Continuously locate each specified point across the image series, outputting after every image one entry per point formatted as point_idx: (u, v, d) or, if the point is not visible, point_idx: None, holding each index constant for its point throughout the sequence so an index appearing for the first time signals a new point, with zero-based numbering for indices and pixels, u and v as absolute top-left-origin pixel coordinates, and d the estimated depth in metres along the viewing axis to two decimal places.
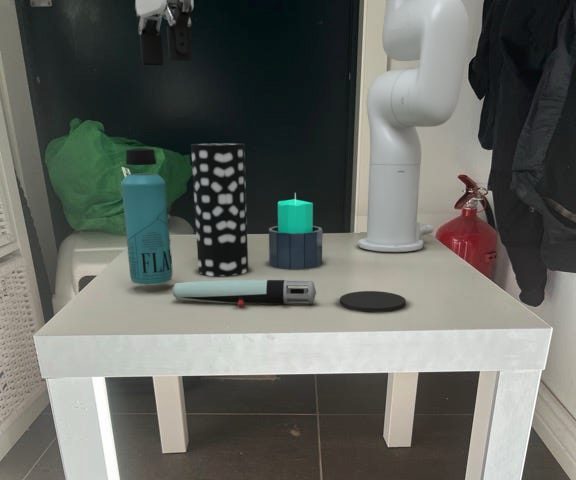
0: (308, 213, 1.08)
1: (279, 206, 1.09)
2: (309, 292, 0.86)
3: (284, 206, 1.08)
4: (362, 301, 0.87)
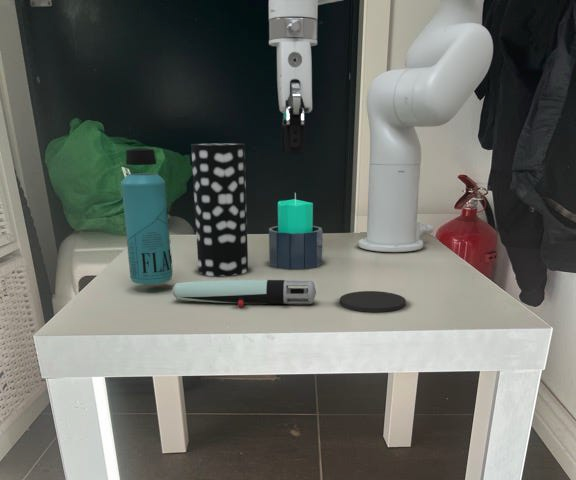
0: (308, 213, 1.08)
1: (279, 206, 1.09)
2: (309, 292, 0.87)
3: (284, 206, 1.08)
4: (362, 301, 0.87)
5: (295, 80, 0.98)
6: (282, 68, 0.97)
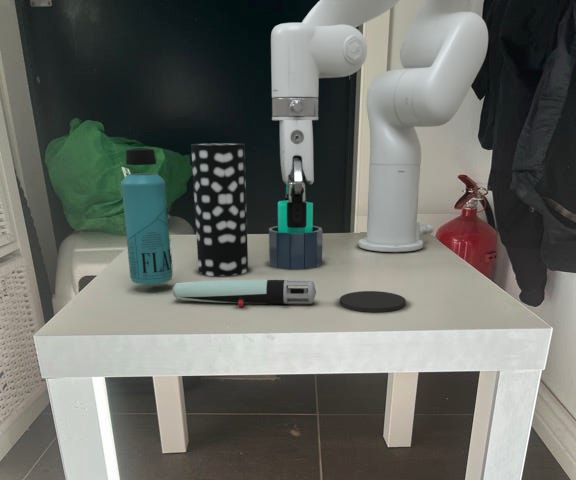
0: (308, 213, 1.08)
1: (279, 206, 1.09)
2: (309, 292, 0.87)
3: (284, 206, 1.08)
4: (362, 301, 0.87)
5: (297, 158, 1.02)
6: (285, 145, 1.02)
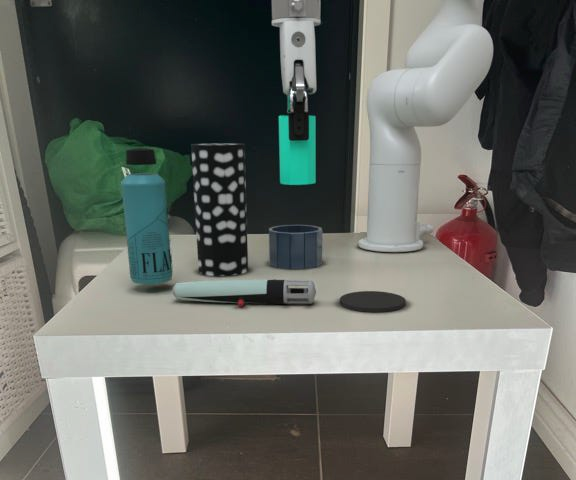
0: (311, 126, 1.03)
1: (280, 119, 1.03)
2: (309, 292, 0.87)
3: (285, 118, 1.02)
4: (362, 301, 0.87)
5: (299, 63, 0.97)
6: (285, 48, 0.96)
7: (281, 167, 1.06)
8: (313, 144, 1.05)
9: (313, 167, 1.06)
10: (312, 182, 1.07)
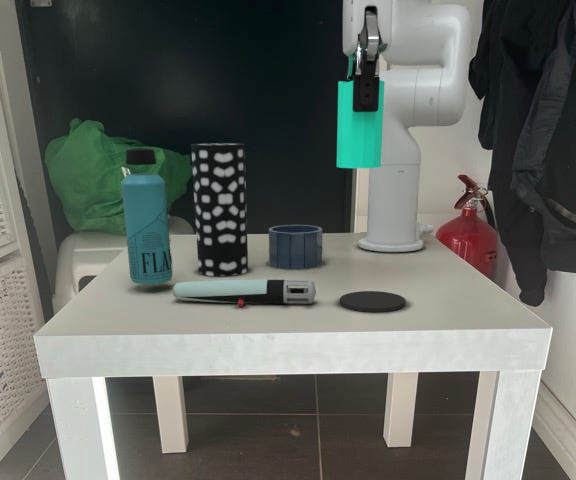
0: (379, 93, 0.82)
1: (341, 85, 0.82)
2: (309, 292, 0.87)
3: (348, 83, 0.81)
4: (362, 301, 0.87)
5: (371, 10, 0.76)
6: None
7: (339, 146, 0.85)
8: (381, 117, 0.83)
9: (380, 147, 0.84)
10: (378, 166, 0.85)
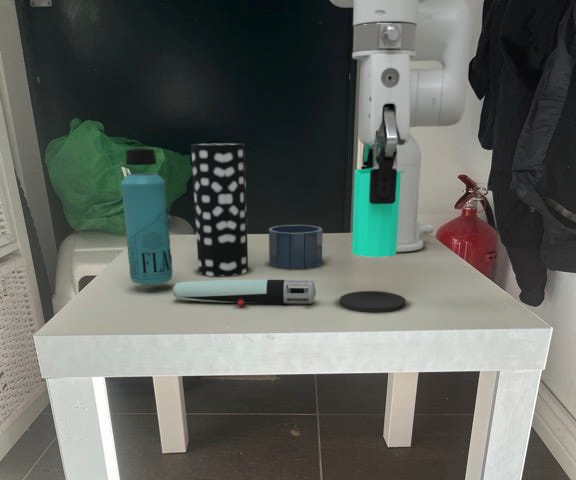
0: (396, 184, 0.81)
1: (357, 175, 0.81)
2: (309, 292, 0.87)
3: (365, 175, 0.80)
4: (362, 301, 0.87)
5: (389, 108, 0.75)
6: (373, 89, 0.74)
7: (355, 234, 0.84)
8: (397, 206, 0.83)
9: (396, 235, 0.84)
10: (394, 253, 0.84)
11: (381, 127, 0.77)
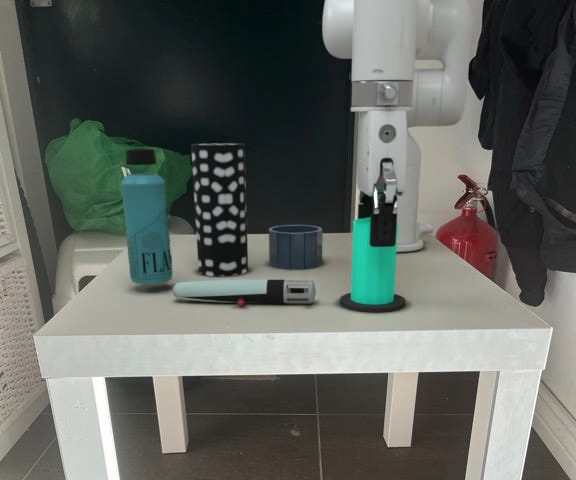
0: None
1: (355, 227, 0.84)
2: (309, 291, 0.87)
3: (363, 227, 0.83)
4: None
5: (386, 159, 0.77)
6: (371, 144, 0.77)
7: (354, 282, 0.87)
8: (395, 256, 0.85)
9: (393, 283, 0.86)
10: (391, 300, 0.87)
11: (379, 179, 0.79)
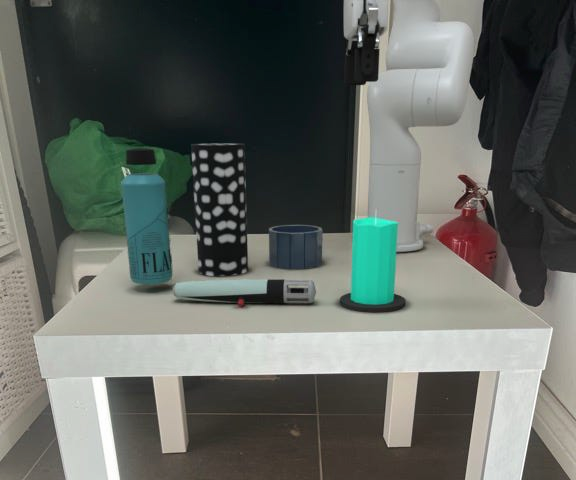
0: (393, 235, 0.83)
1: (355, 227, 0.84)
2: (309, 291, 0.87)
3: (363, 227, 0.83)
4: None
5: None
6: None
7: (354, 282, 0.87)
8: (395, 256, 0.85)
9: (393, 283, 0.86)
10: (391, 300, 0.87)
11: (363, 17, 0.87)
